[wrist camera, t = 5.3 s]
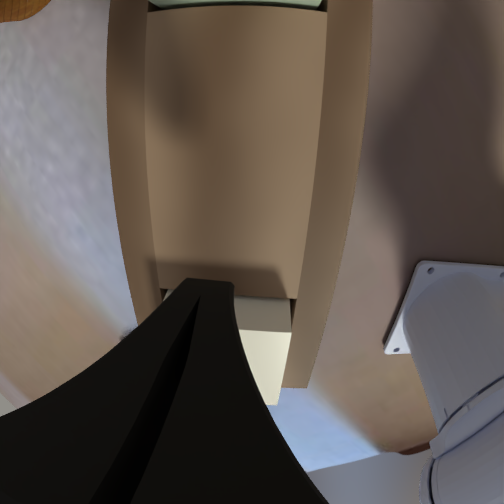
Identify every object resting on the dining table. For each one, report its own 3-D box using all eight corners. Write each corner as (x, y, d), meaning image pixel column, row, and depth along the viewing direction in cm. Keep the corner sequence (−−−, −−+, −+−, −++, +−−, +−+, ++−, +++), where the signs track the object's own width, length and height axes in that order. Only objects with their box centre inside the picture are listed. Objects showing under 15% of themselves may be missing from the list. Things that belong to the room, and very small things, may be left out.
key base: (349, -76, 7) (366, -105, 4) (303, 348, 21) (306, 388, 18) (154, -76, 8) (130, -103, 5) (164, 337, 21) (152, 374, 18)
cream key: (288, 290, 15) (291, 332, 13) (277, 365, 18) (277, 405, 16) (171, 281, 16) (154, 320, 13) (182, 357, 19) (172, 394, 16)
